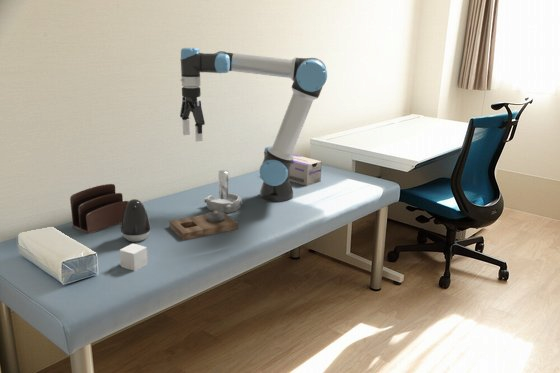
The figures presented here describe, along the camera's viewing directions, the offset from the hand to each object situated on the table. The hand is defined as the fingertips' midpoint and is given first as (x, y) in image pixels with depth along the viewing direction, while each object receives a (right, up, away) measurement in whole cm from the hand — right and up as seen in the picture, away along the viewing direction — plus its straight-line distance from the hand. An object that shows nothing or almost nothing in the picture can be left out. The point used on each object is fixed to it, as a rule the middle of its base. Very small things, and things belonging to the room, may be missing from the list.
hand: (192, 137), depth 219 cm
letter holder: (-32, -35, -16) cm, 50 cm away
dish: (+13, -30, +3) cm, 33 cm away
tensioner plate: (+8, -37, -20) cm, 42 cm away
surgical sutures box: (+44, -17, +47) cm, 67 cm away
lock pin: (+13, -25, +1) cm, 28 cm away
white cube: (-11, -46, -50) cm, 69 cm away
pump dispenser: (-15, -40, -30) cm, 52 cm away
